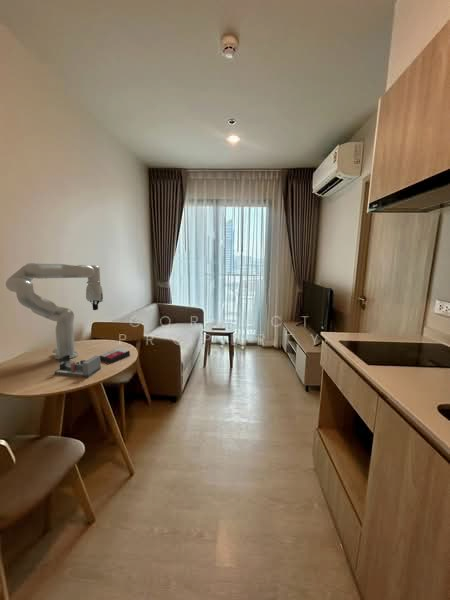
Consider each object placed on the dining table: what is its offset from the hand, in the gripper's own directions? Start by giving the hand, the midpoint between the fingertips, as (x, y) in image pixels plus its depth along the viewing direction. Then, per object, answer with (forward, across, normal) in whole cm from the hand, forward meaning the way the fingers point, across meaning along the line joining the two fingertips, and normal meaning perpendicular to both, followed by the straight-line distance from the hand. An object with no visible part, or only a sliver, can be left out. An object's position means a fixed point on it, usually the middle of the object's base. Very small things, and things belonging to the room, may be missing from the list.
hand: (95, 309), depth 180 cm
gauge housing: (+27, +14, -38) cm, 49 cm away
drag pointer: (+25, +15, -43) cm, 52 cm away
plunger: (+25, +9, -39) cm, 47 cm away
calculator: (+28, +22, -15) cm, 39 cm away
